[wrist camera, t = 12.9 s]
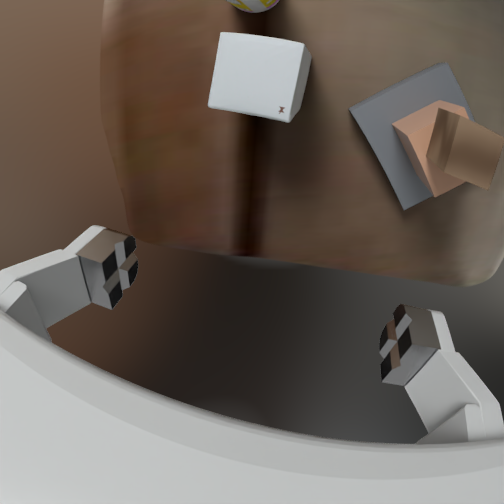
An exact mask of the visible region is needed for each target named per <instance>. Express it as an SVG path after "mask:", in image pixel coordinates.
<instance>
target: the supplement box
mask: <svg viewBox="0 0 504 504" xmlns="http://www.w3.org/2000/svg"><path fill="white" fill-rule="evenodd" d="M311 58H312V56H311V54H310V53H309V51H308V50H307V48H306V46H305V45H304V44H303V43H299V42H295V41H290V40H284V39H279V38H273V37H267V36H259V35H251V34H242V33H229V32H221V33H220V39H219V45H218V51H217V57H216V62H215V68H214V73H213V79H212V84H211V90H210V96H209V101H208V107H210V108H215V109H221V110H228V111H234V112H239V113H245V114H249V115H255V116H260V117H265V118H270V119H274V120H279V121H283V122H287V123H289V122H290V121H291V120H292V118H293V117H294V116H295V115H296V113H297V112H298V111H299V110H300V107H301V103H302V99H303V95H304V91H305V87H306V82H307V78H308V73H309V68H310V63H311Z"/></svg>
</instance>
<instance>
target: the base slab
mask: <svg viewBox="0 0 504 504" xmlns="http://www.w3.org/2000/svg"><path fill="white" fill-rule="evenodd" d="M438 100H441V101H445V102H449V103H452V104H455V105H459V106H462V107H464V108H465V110H466V112H467V115H468V117H469V120H471V121H473V122H475V121H474V118H473V116H472V113H471V111H470V109H469V106H468V104H467V102H466V99H465V97H464V95H463V93H462V91H461V89H460V86H459V84H458V82H457V80H456V78H455V76H454V74H453V72H452V70H451V69H450V67H449V65H448V63H438V64H436V65H433V66H431V67H429V68H427V69H425V70H423V71H421V72H418V73H416V74H414V75H412V76H410V77H408V78H406V79H404V80H402V81H400V82H398V83H396V84H394V85H392V86H390V87H388V88H386V89H384V90H382V91H380V92H378V93H376V94H375V95H373V96H371V97H369V98H367V99H365V100H363V101H361V102H360V103H358V104H356V105H354V106H352V107H350V108H349V110H350V112H351V114H352V115H353V117H354V118H355V120H356V122H357V123H358V125H359V127H360V128H361V130H362V132H363V133H364V135H365V137H366V138H367V140H368V142H369V144H370V145H371V147H372V149H373V151H374V153H375V154H376V156H377V158H378V160H379V162H380V164H381V165H382V167H383V169H384V171H385V173H386V175H387V177H388V179H389V181H390V183H391V185H392V187H393V189H394V191H395V193H396V195H397V197H398V199H399V201H400V203H401V205H402V207H403V209H404V210H406V209H408V208H410V207H412V206H414V205H416V204H418V203H420V202H422V201H424V200H426V199H428V198H430V197H432V196H433V195H432V193H431V192H430V191H429V189H428V188H427V187H426V186H425V184H424V183H423V182H422V181H421V179H420V178H419V177H418V176H417V174H416V172H415V170H414V167H413V165H412V163H411V161H410V159H409V157H408V155H407V153H406V151H405V149H404V147H403V145H402V143H401V141H400V139H399V137H398V135H397V133H396V131H395V129H394V127H393V126H392V123H394V122H396V121H398V120H400V119H402V118H404V117H406V116H408V115H410V114H412V113H414V112H416V111H418V110H420V109H422V108H424V107H426V106H428V105H430V104H432V103H434V102H436V101H438Z"/></svg>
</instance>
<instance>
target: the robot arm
mask: <svg viewBox="0 0 504 504" xmlns="http://www.w3.org/2000/svg"><path fill="white" fill-rule="evenodd" d="M135 249H136V241H135V238H134V237H133V236H131V235H128V234H125V233H122V232H118V231H115V230H112V229H107V228H105V227H101V226H98V225H93V226H91V227H90V228H89V229H87V230H86V231H85V232H84V233H83V234H81V235H80V236H79V237H78V238H77V239H76V240H75V241H73V242H72V243H71V244H70V245H69V246H68V247H66V248H65V249H64V250H61V249H59V250H56V251H53V252H50V253H47V254H45V255H42V256H39V257H36V258H33V259H30V260H28V261H25V262H22V263H19V264H16V265H14V266H11V267H9V268H6V269H3V270H1V271H0V504H504V424H503V419H502V414H501V409H500V405H499V403H498V401H497V400H496V399H495V397H494V396H493V395H492V393H491V392H490V391H489V390H488V388H487V387H486V386H485V384H484V383H483V382H482V380H481V379H480V378H479V377H478V375H477V374H476V373H475V372H474V371H473V369H472V368H471V367H470V366H469V364H468V363H467V362H466V361H465V360H464V358H463V357H462V356H461V355H460V354H459V353H456V352H455V350H454V346H453V343H452V339H451V336H450V332H449V329H448V326H447V323H446V320H445V317H444V315H443V313H442V312H438V311H433V310H426V309H421V308H417V307H412V306H408V305H404V304H400V305H399V306H398V307H396V309H395V311H394V312H393V316H394V319H393V320H392V321H390V322H388V323H387V324H386V325H385V327H384V329H383V330H382V333H381V336H380V341H379V353H380V354H381V355H382V357H383V358H384V360H383V361H382V362H381V364H380V368H381V382H383V383H389V384H396V385H403V386H405V389H406V391H407V393H408V395H409V396H410V398H411V400H412V402H413V404H414V405H415V407H416V409H417V411H418V413H419V415H420V417H421V419H422V421H423V423H424V424H425V427H426V429H427V431H428V433H429V434H428V435H426V436H425V437H423V438H422V439H420V440H419V441H418V442H417V443H416V444H390V443H389V444H388V443H373V442H360V441H351V440H342V439H334V438H327V437H320V436H312V435H307V434H301V433H296V432H291V431H285V430H281V429H276V428H271V427H267V426H262V425H258V424H254V423H250V422H245V421H242V420H238V419H234V418H230V417H227V416H224V415H220V414H217V413H213V412H210V411H207V410H204V409H200V408H197V407H194V406H191V405H188V404H185V403H182V402H179V401H177V400H174V399H171V398H168V397H165V396H163V395H160V394H158V393H155V392H153V391H150V390H148V389H145V388H143V387H140V386H138V385H135V384H133V383H131V382H128V381H126V380H124V379H122V378H119V377H117V376H115V375H113V374H111V373H108V372H106V371H104V370H102V369H100V368H98V367H96V366H94V365H92V364H90V363H88V362H86V361H84V360H82V359H80V358H78V357H76V356H74V355H73V354H71V353H69V352H67V351H65V350H64V349H62V348H60V347H58V346H56V345H55V344H53V343H51V338H50V336H49V334H48V332H47V330H46V328H47V327H49V326H51V325H53V324H54V323H56V322H58V321H60V320H61V319H63V318H65V317H67V316H69V315H70V314H72V313H74V312H76V311H78V310H79V309H81V308H83V307H85V306H87V305H88V304H90V303H91V302H93V303H95V304H98V305H101V306H104V307H106V308H109V309H113V308H114V306H115V305H116V304H117V303H118V302H119V300H120V299H121V298H122V296H123V293H122V290H123V289H126V288H128V287H130V286H131V284H132V283H133V282H134V280H135V278H136V275H137V272H138V259H137V258H136V256H135V254H134V253H133V251H134V250H135Z"/></svg>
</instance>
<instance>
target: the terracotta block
mask: <svg viewBox="0 0 504 504" xmlns="http://www.w3.org/2000/svg"><path fill="white" fill-rule="evenodd" d="M438 108H441V109H444V110H447V111H450V112H453V113H455V114H458V115H460V116H463V117H465V118H467V119H469V117H468V115H467V112H466V110H465V108H464V107H462V106H459V105H455V104H452V103H449V102H445V101H441V100H438V101H436V102H434V103H432V104H430V105H428V106H426V107H424V108H422V109H420V110H418V111H416V112H414V113H412V114H410V115H408V116H406V117H404V118H402V119H400V120H398V121H396V122H394V123H392V126H393V127H394V129H395V131H396V133H397V135H398V137H399V139H400V141H401V143H402V145H403V147H404V149H405V151H406V153H407V155H408V157H409V159H410V161H411V163H412V165H413V167H414V170H415V172H416V174H417V176H418V177H419V178H420V179H421V181H422V182H423V183H424V184H425V186H426V187H427V188H428V189H429V191H430V192H431V193H432V195H433V196H434V197H437V196H439V195H441V194H443V193H445V192H447V191H449V190H451V189H453V188H455V187H457V186H459V185H461V184H463V183H465V182H467V181H464V180H462V179H459V178H457V177H454V176H452V175H449V174H447V173H444V172H443V171H442V170H441V169H440V168H439V167H438V166H436V165H435V164H434V163H433V162H432V161H431V160H430V159H429V158H428V157H427V156H426V153H427V150H428V146H429V143H430V139H431V136H432V132H433V128H434V124H435V120H436V116H437V112H438Z"/></svg>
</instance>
